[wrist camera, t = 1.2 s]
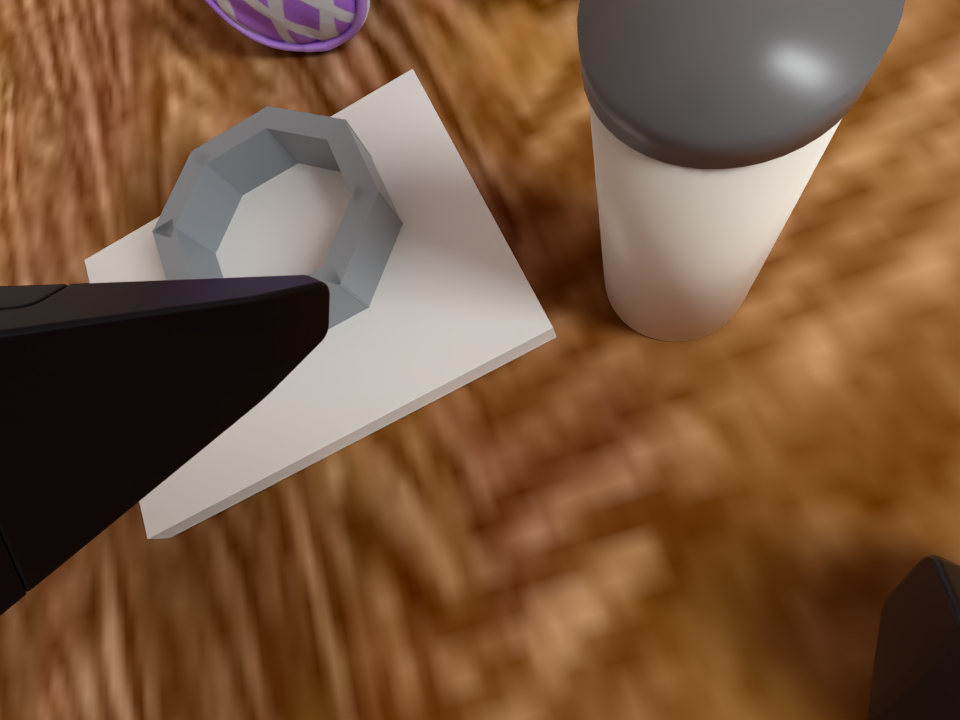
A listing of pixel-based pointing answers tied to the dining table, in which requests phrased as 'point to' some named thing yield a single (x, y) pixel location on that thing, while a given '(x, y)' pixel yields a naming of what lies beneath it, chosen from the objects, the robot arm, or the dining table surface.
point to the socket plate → (336, 280)
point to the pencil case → (295, 21)
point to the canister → (712, 138)
